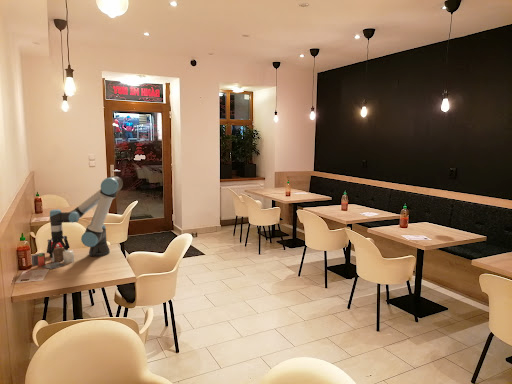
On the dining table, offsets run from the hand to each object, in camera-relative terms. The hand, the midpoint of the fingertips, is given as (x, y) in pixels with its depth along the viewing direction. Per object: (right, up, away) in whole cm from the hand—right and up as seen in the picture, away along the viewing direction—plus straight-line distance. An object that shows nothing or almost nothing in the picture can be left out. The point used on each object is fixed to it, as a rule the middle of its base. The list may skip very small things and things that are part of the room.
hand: (59, 259), depth 286 cm
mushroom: (-8, +1, +12) cm, 14 cm away
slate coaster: (+3, -2, -13) cm, 13 cm away
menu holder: (-11, -1, -7) cm, 13 cm away
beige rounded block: (+9, -1, -4) cm, 10 cm away
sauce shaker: (-6, -2, -12) cm, 14 cm away
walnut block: (0, 0, 0) cm, 0 cm away
